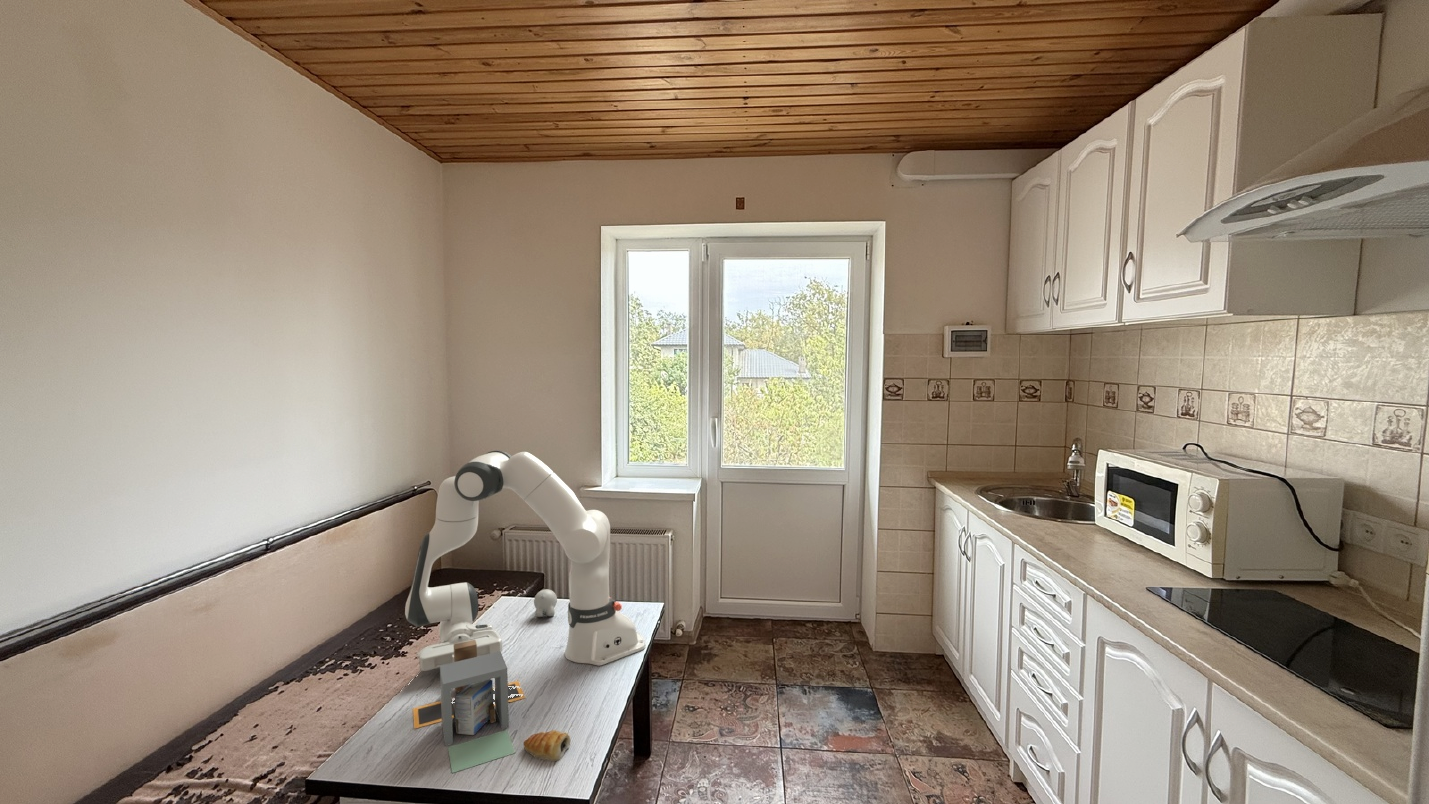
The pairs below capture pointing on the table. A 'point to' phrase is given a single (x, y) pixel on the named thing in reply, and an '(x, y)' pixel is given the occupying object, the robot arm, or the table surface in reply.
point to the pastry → (547, 745)
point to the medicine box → (473, 706)
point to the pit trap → (433, 711)
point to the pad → (480, 751)
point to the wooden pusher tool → (463, 653)
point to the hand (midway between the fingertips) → (464, 663)
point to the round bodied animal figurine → (545, 603)
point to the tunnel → (470, 674)
